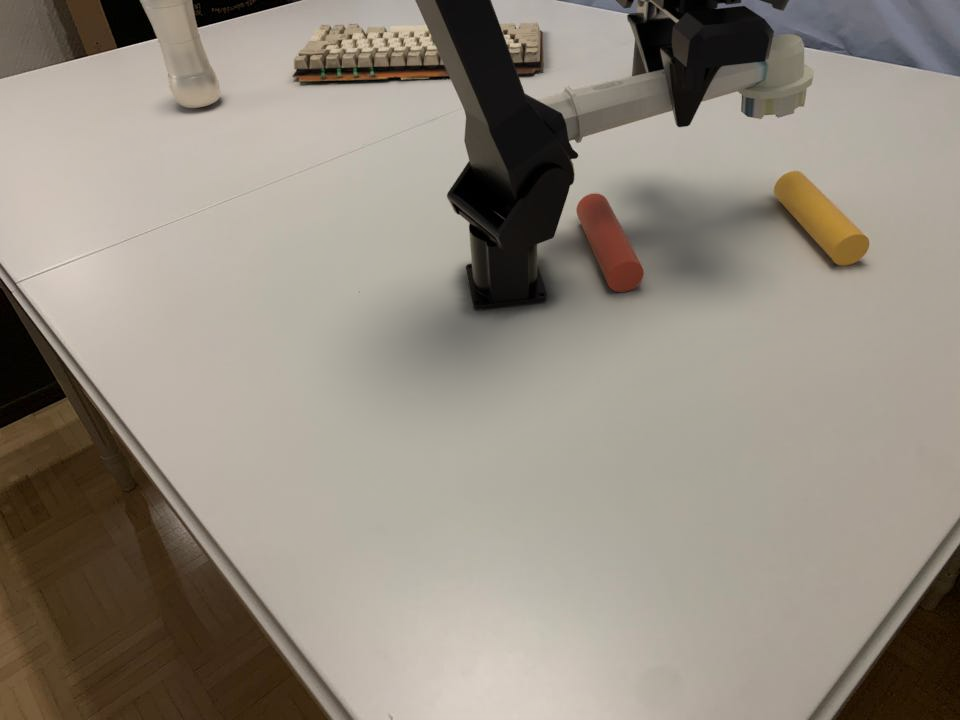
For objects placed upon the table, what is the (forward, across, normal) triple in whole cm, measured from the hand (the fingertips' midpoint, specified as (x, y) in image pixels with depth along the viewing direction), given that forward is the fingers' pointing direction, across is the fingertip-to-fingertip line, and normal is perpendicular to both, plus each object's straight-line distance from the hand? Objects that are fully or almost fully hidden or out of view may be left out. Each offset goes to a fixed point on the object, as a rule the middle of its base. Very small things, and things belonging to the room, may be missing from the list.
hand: (672, 114), depth 62 cm
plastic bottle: (+11, +46, +51) cm, 70 cm away
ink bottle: (+11, +34, -13) cm, 38 cm away
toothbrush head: (+1, 0, 0) cm, 1 cm away
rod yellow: (+11, -5, -14) cm, 18 cm away
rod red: (+11, -4, +6) cm, 13 cm away
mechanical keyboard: (+11, +55, +19) cm, 59 cm away
